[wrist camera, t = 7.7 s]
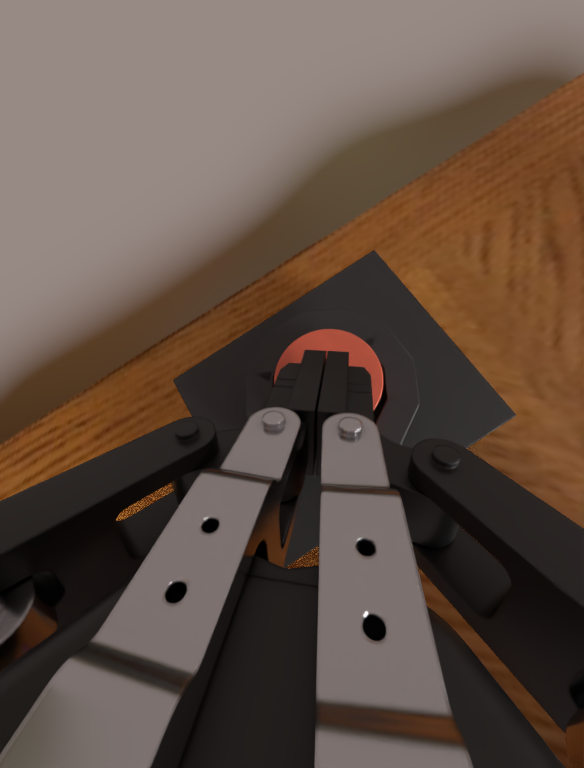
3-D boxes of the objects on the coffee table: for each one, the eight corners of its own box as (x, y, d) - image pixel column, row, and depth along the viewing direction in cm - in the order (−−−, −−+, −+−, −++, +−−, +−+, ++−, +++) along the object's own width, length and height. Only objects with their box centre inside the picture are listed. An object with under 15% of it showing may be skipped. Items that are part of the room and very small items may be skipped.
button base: (364, 306, 22) (378, 224, 15) (463, 430, 20) (542, 408, 12) (217, 402, 22) (152, 369, 15) (295, 540, 20) (266, 589, 12)
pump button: (341, 334, 15) (341, 309, 13) (395, 406, 14) (407, 393, 12) (268, 382, 15) (254, 365, 13) (316, 457, 14) (311, 456, 11)
